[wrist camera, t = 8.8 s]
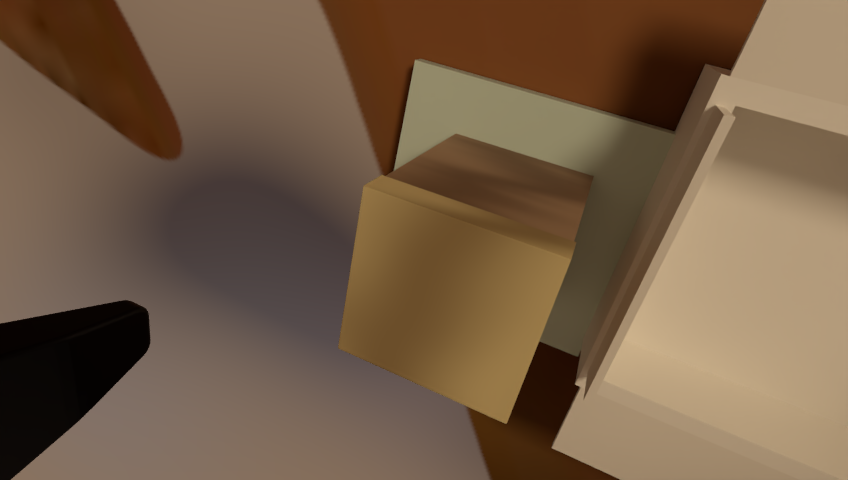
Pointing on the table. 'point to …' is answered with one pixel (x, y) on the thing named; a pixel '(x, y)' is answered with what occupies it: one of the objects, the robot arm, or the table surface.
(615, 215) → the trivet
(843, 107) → the cream tray
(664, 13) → the table surface
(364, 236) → the tea box
